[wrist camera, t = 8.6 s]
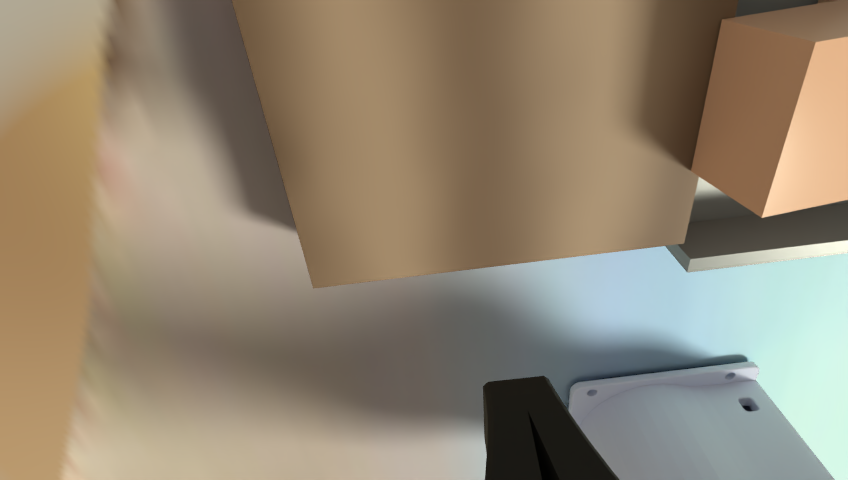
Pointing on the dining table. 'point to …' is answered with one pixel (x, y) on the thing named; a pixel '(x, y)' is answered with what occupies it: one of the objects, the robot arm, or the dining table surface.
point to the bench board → (481, 127)
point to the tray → (746, 231)
